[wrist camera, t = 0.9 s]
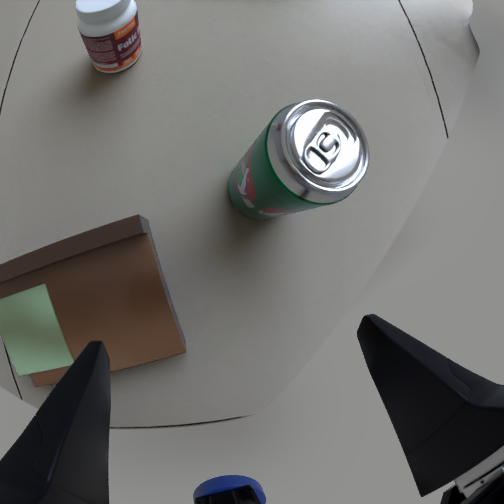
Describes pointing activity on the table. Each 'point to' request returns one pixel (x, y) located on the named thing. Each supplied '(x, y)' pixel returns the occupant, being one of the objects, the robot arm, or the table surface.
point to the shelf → (88, 302)
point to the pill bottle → (110, 33)
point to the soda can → (300, 162)
